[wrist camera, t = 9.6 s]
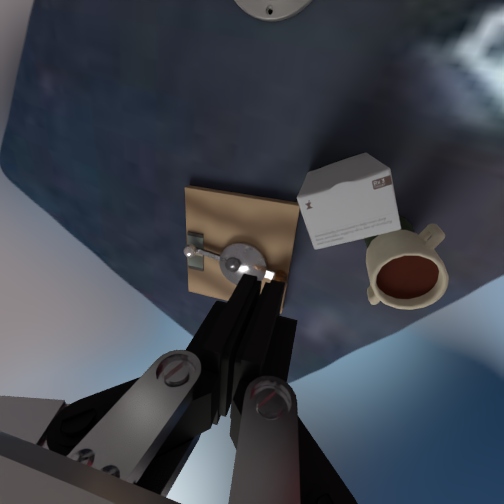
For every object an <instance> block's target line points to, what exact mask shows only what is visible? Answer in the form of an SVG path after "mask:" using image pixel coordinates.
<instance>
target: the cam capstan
mask: <svg viewBox="0 0 504 504" xmlns="http://www.w3.org/2000/svg"><path fill="white" fill-rule="evenodd" d="M196 253H198V254H201V255H204V256H207V257H210V258H213V259H216V260H219V265H220V269H221V272H222V273H223V275H224V276H225V277H226V279H227V280H229V281H230V282H231V283H233V284H235V285H237V284H238V282H239V281H240V279H241V277H242V275H243V274H244V273H245V274H249V275H254V276H257V278H258V279H257V280H259V281H262V280H263V278H264V277H265V278H268V279H271V280H276V281H280V282H285V287H286V284H287V280H288V275H287V273H286V272H284V271H281V270H279V271H274V270H271V269H268V268H267V261H266V258H265V256H264V254H263V253H262V252H261V251H260V250H259V249H258V248H257V247H256V246H254V245H252V244H250V243H247V242H235V243H232V244H230V245H228V246H227V247H226V248H225V249H224V251H223V252H222V253H221V255H220V254H217V253H214V252H211V251H208V250H205V249H202V248H199V247H196V246H194V245H193V244H188V245H186V246H185V247H184V254H185V255H186V256H187V257H194V256H195V255H196ZM285 287H284V291H285ZM283 294H284V293H283Z"/></svg>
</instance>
